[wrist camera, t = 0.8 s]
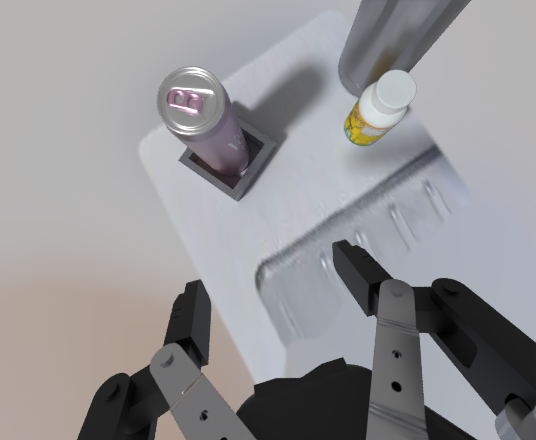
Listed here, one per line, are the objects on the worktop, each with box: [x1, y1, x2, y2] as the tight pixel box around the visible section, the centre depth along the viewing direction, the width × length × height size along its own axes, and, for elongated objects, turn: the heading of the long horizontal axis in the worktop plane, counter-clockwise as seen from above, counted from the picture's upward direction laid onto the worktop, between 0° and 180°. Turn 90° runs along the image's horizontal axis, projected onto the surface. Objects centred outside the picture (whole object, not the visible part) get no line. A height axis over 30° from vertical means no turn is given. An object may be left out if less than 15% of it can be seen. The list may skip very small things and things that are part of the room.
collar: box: [178, 116, 275, 201], centre depth 31 cm, size 10×10×2 cm
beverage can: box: [157, 66, 250, 176], centre depth 25 cm, size 6×6×15 cm
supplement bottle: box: [343, 70, 416, 147], centre depth 27 cm, size 5×5×10 cm
